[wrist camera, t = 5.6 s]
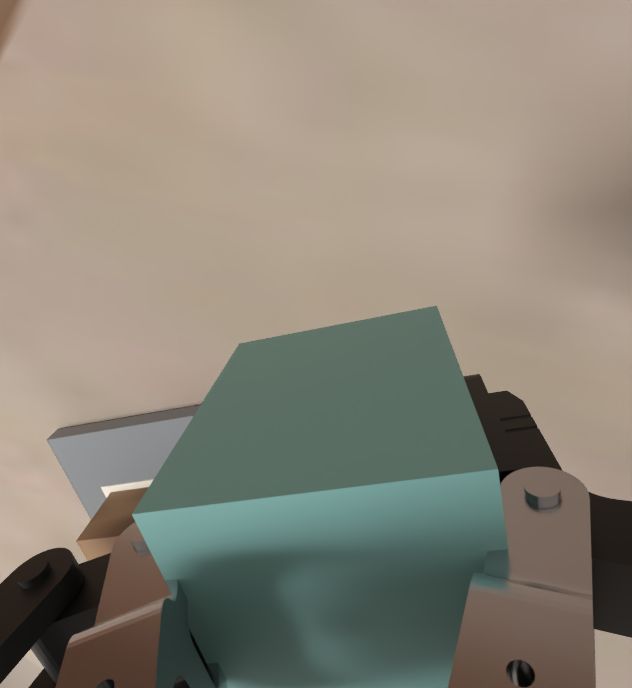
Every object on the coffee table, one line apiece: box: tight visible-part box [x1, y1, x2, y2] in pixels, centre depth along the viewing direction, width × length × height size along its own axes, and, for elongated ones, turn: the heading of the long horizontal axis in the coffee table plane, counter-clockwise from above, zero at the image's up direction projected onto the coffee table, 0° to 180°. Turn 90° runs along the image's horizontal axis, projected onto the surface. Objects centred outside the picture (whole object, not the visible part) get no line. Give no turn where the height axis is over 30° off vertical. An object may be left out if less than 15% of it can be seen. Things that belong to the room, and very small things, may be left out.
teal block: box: [132, 306, 508, 688], centre depth 10 cm, size 5×5×6 cm
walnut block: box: [76, 487, 149, 561], centre depth 29 cm, size 7×7×4 cm
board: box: [47, 405, 200, 519], centre depth 31 cm, size 18×16×1 cm
